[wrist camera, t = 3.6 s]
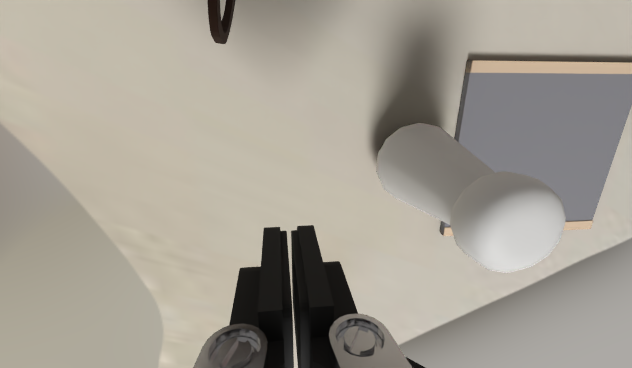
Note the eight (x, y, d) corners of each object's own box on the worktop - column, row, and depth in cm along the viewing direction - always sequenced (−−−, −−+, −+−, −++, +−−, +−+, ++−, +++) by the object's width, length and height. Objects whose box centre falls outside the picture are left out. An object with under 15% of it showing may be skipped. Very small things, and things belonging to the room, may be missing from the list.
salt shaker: (449, 127, 24) (626, 182, 12) (425, 195, 26) (557, 303, 13) (379, 111, 23) (493, 153, 11) (359, 182, 25) (437, 288, 12)
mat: (637, 63, 24) (647, 62, 23) (583, 225, 28) (590, 228, 28) (467, 60, 22) (472, 60, 22) (439, 232, 27) (443, 236, 26)
